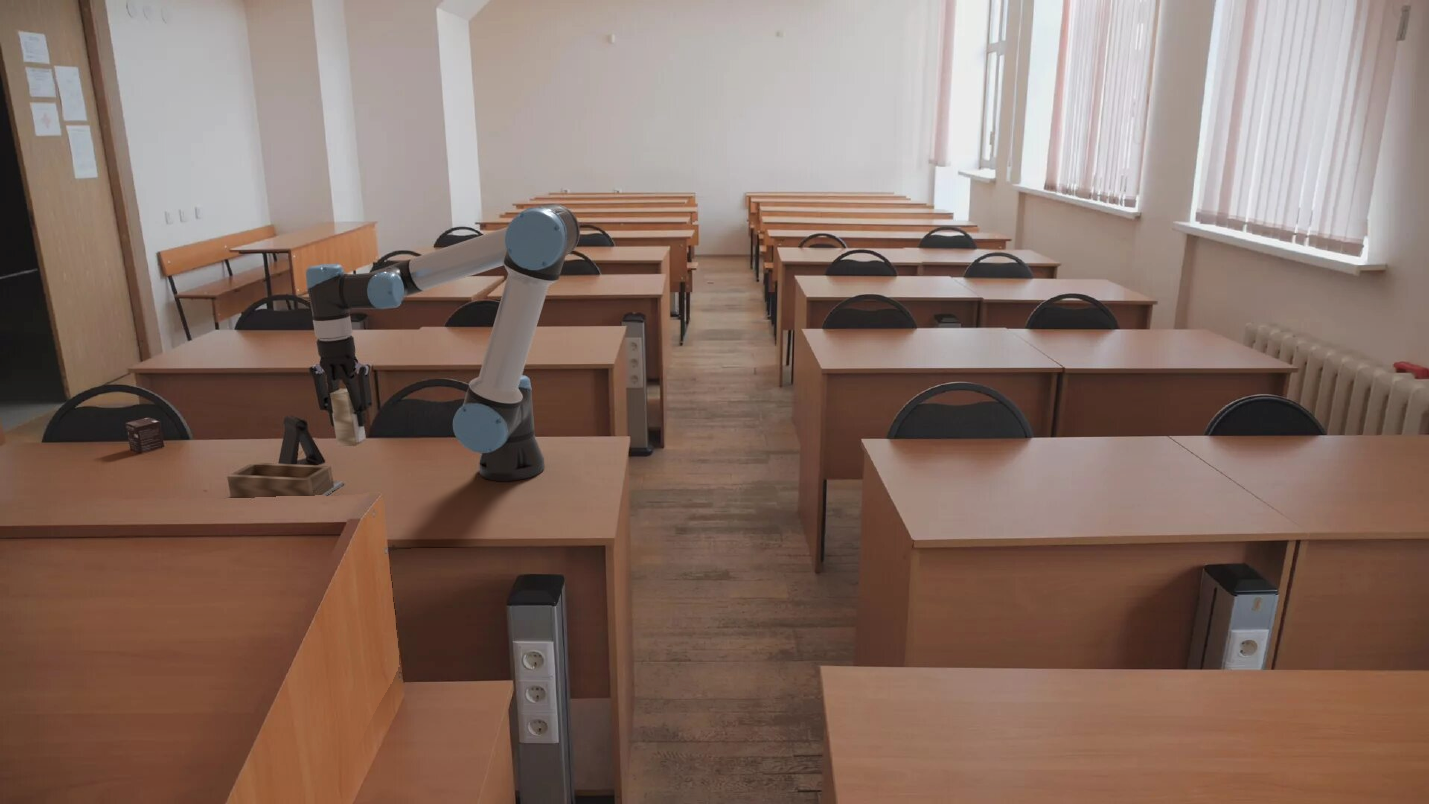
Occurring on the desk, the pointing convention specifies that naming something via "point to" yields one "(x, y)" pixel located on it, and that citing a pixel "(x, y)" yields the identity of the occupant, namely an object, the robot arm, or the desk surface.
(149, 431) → the box
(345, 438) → the birch block
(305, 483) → the wooden tray
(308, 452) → the black phone stand
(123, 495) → the desk surface
